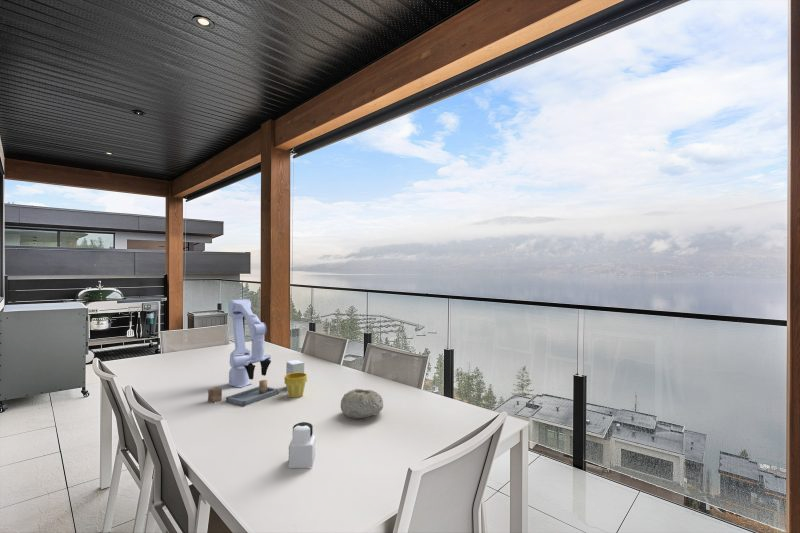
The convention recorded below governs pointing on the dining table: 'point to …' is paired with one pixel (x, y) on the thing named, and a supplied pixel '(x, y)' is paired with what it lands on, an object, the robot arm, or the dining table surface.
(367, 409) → the round stone vase
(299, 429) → the white boxy piece
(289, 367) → the small box
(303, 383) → the plant pot
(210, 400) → the walnut block
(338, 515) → the dining table surface
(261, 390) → the oak peg
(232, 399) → the parts tray
